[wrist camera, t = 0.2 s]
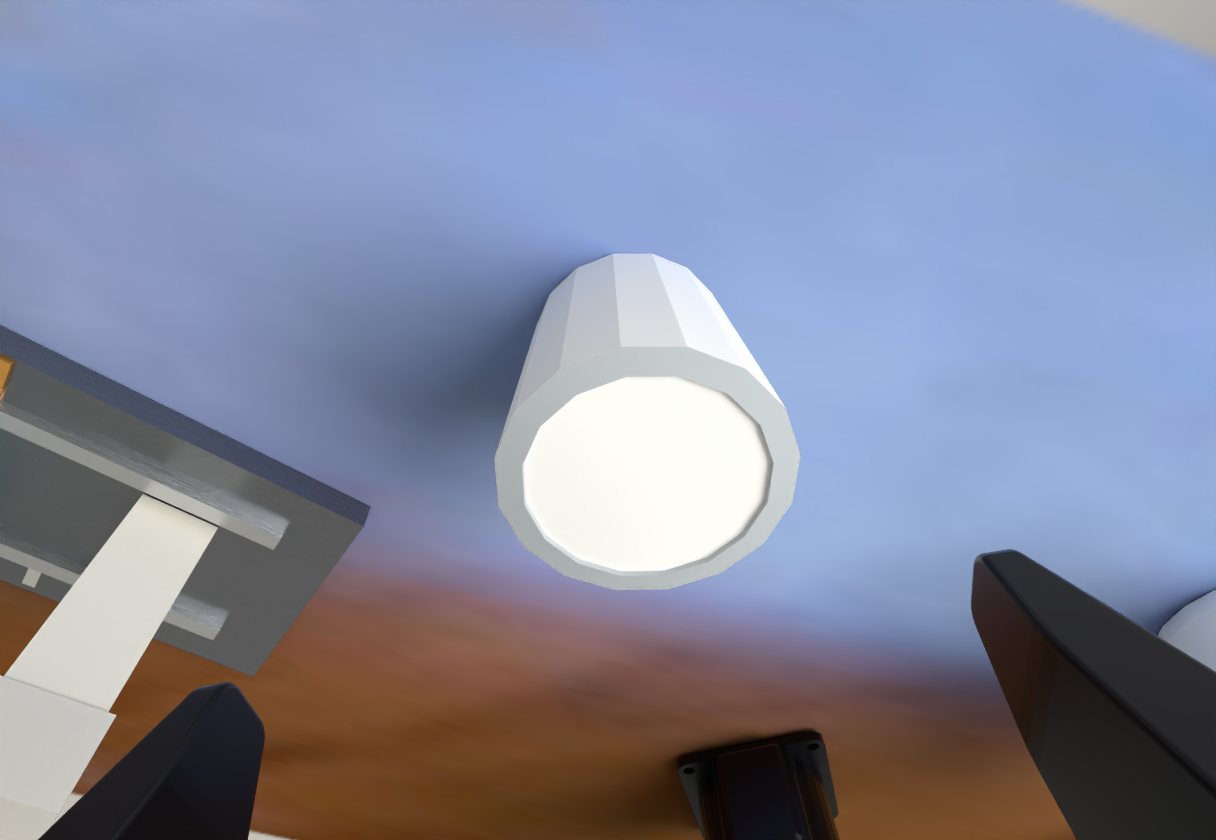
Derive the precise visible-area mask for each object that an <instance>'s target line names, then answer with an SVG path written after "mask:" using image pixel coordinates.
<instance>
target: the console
mask: <svg viewBox="0 0 1216 840" xmlns="http://www.w3.org/2000/svg"><path fill="white" fill-rule="evenodd" d="M143 494H144V495H147V496H149V497H151V498H153V499H156V500H158V501H160V502H162V503H165V504H167V505H169V506H171V507H173V508H176V509H178V510H180V511H182V512H185V513H187V514H189V515H191V516H194V517H196V518H198V519H200V520H203V521H205V522H207V523H209V524H212V525H214V526H216V527H218V529H217V530H216V532H215V534H214V536H213V537H212V539H211V541H210V542H209V544H208V546H207V547H206V549H205V551H204V552H203V554H202V556H201V557H200V559H199V561H198V562H197V564H196V566H195V567H194V569H193V571H192V572H191V574H190V576H189V577H188V579H187V581H186V582H185V584H184V586H183V587H182V589H181V591H180V593H179V594H178V596H177V598H176V599H175V601H174V603H173V604H172V606H171V608H170V609H169V611H168V613H167V614H166V616H165V618H164V619H163V621H162V623H161V624H160V626H159V628H158V629H157V631H156V633H155V634H154V636H153V638H154V639H156V640H159V641H162V642H164V643H167V644H169V645H172V646H175V647H177V648H180V649H182V650H185V651H188V652H190V653H193V654H196V655H198V656H201V657H203V658H206V659H209V660H211V661H214V662H216V663H219V664H222V665H224V666H227V667H229V668H232V669H235V670H237V671H240V672H243V673H245V674H248V675H250V676H254V675H255V674H256V672H257V671H258V669H259V668H260V667H261V665H262V664H263V663H264V661H265V660H266V659H267V657H268V656H269V654H270V653H271V652H272V650H273V649H274V648H275V646H276V645H277V644H278V642H279V641H280V640H281V638H282V637H283V635H284V634H285V633H286V631H287V630H288V629H289V627H290V626H291V625H292V623H293V622H294V620H295V619H296V618H297V616H298V615H299V614H300V612H301V611H302V610H303V608H304V607H305V605H306V604H307V603H308V601H309V600H310V599H311V597H312V596H313V595H314V593H315V592H316V590H317V589H318V588H319V586H320V585H321V584H322V582H323V581H324V580H325V578H326V577H327V575H328V574H329V573H330V571H331V570H332V569H333V567H334V566H335V565H336V563H337V562H338V561H339V559H340V558H341V556H342V555H343V554H344V552H345V551H346V550H347V548H348V547H349V546H350V544H351V543H352V541H353V540H354V539H355V537H356V536H357V535H358V533H359V532H360V531H361V529H362V528H363V526H364V524H365V521H366V518H367V515H368V512H369V510H370V507H369V506H367V505H365V504H363V503H361V502H359V501H357V500H355V499H353V498H351V497H349V496H347V495H345V494H343V493H341V492H339V491H337V490H335V489H333V488H331V487H329V486H327V485H325V484H323V483H320V482H318V481H316V480H314V479H312V478H310V477H308V476H306V475H304V474H302V473H300V472H298V471H296V470H294V469H292V468H290V467H288V466H286V465H284V464H282V463H280V462H278V461H276V460H274V459H272V458H269V457H267V456H265V455H263V454H261V453H259V452H257V451H255V450H253V449H251V448H249V447H247V446H245V445H243V444H241V443H239V442H237V441H235V440H233V439H231V438H229V437H227V436H225V435H223V434H220V433H218V432H216V431H214V430H212V429H210V428H208V427H206V426H204V425H202V424H200V423H198V422H196V421H194V420H192V419H190V418H188V417H186V416H184V415H182V414H180V413H178V412H176V411H174V410H171V409H169V408H167V407H165V406H163V405H161V404H159V403H157V402H155V401H153V400H151V399H149V398H147V397H145V396H143V395H141V394H139V393H137V392H135V391H133V390H131V389H129V388H127V387H125V386H123V385H120V384H118V383H116V382H114V381H112V380H110V379H108V378H106V377H104V376H102V375H100V374H98V373H96V372H94V371H92V370H90V369H88V368H86V367H84V366H82V365H80V364H78V363H76V362H74V361H71V360H69V359H67V358H65V357H63V356H61V355H59V354H57V353H55V352H53V351H51V350H49V349H47V348H45V347H43V346H41V345H39V344H37V343H35V342H33V341H31V340H29V339H27V338H25V337H22V336H20V335H18V334H16V333H14V332H12V331H10V330H8V329H6V328H4V327H2V326H0V580H2V581H5V582H8V583H10V584H13V585H16V586H18V587H21V588H23V589H26V590H29V591H31V592H34V593H36V594H39V595H42V596H44V597H47V598H49V599H52V600H55V601H57V602H61V601H62V599H63V598H64V597H65V595H66V594H67V593H68V592H69V590H70V589H71V588H72V586H73V585H74V584H75V582H76V581H77V580H78V578H79V577H80V576H81V575H82V573H83V572H84V571H85V569H86V568H87V567H88V565H89V564H90V563H91V561H92V560H93V559H94V558H95V556H96V555H97V554H98V552H99V551H100V550H101V548H102V547H103V546H104V544H105V543H106V542H107V541H108V539H109V538H110V537H111V535H112V534H113V533H114V531H115V530H116V529H117V527H118V526H119V525H120V524H121V522H122V521H123V520H124V518H125V517H126V516H127V514H128V513H129V512H130V510H131V509H132V508H133V507H134V505H135V504H136V503H137V501H138V500H139V499H140V497H141V496H142V495H143Z"/></svg>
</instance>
